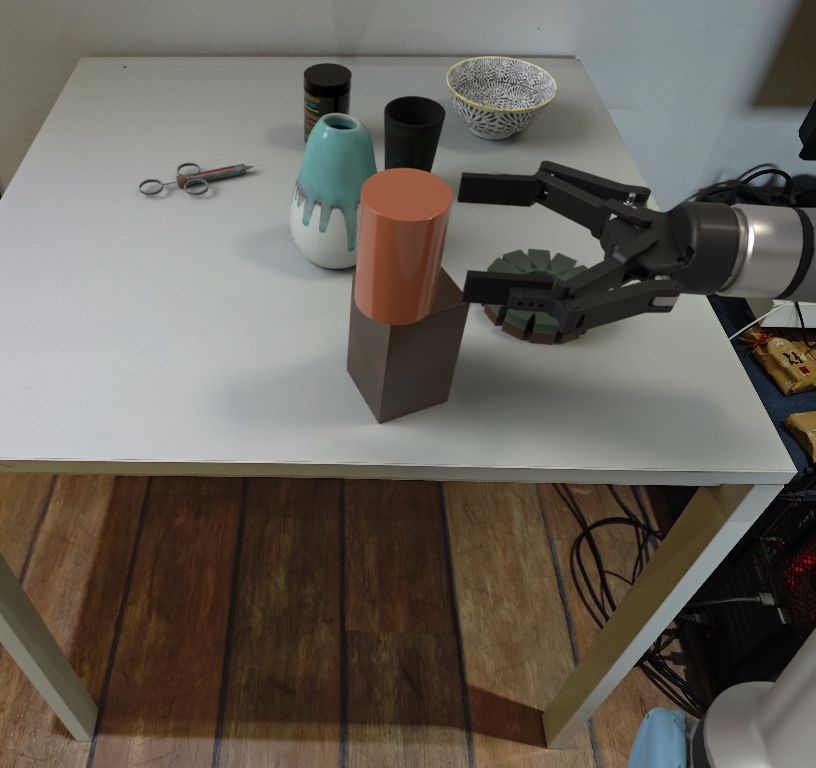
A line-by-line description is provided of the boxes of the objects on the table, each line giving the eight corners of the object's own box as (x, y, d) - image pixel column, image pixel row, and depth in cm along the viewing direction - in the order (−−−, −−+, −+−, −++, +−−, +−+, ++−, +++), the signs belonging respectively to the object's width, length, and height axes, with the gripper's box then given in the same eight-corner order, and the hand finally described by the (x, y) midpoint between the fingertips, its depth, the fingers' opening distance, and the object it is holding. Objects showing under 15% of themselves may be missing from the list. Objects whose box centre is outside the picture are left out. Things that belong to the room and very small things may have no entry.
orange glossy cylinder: (443, 321, 63) (464, 216, 54) (362, 329, 62) (370, 224, 54) (423, 268, 67) (439, 164, 59) (347, 275, 67) (353, 171, 59)
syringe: (273, 184, 101) (272, 173, 100) (146, 210, 97) (143, 199, 96) (256, 155, 106) (256, 145, 104) (134, 179, 102) (132, 169, 100)
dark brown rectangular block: (447, 401, 75) (471, 301, 64) (378, 424, 73) (390, 325, 62) (412, 349, 80) (428, 249, 69) (346, 369, 78) (352, 269, 67)
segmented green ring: (617, 325, 82) (626, 306, 80) (520, 356, 79) (526, 337, 77) (551, 257, 90) (557, 238, 88) (460, 284, 87) (464, 264, 85)
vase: (361, 215, 96) (370, 85, 82) (395, 269, 89) (411, 137, 75) (278, 233, 94) (273, 102, 80) (306, 289, 86) (306, 156, 73)
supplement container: (335, 159, 105) (338, 90, 97) (295, 147, 107) (294, 78, 99) (356, 137, 109) (360, 69, 101) (316, 126, 111) (317, 59, 103)
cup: (395, 170, 103) (403, 89, 94) (442, 188, 100) (456, 106, 91) (366, 196, 99) (372, 114, 90) (415, 215, 96) (426, 133, 87)
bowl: (566, 133, 109) (580, 85, 104) (494, 169, 103) (505, 120, 97) (488, 92, 118) (498, 46, 112) (417, 123, 111) (423, 75, 106)
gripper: (742, 394, 54) (459, 371, 56) (670, 200, 71) (452, 187, 72) (793, 322, 49) (476, 299, 50) (702, 130, 65) (464, 117, 67)
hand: (461, 233), depth 61 cm, fingers open, 13 cm apart
